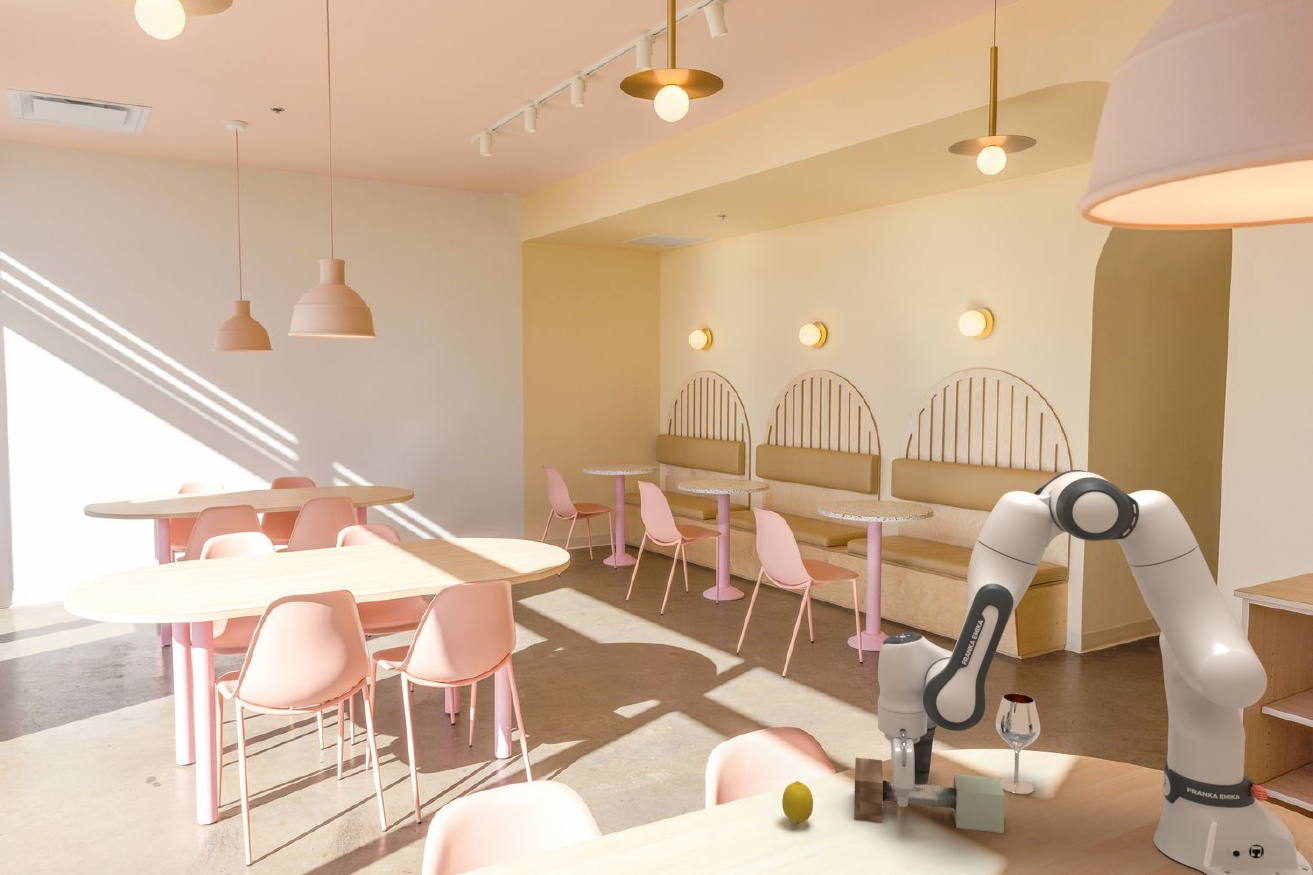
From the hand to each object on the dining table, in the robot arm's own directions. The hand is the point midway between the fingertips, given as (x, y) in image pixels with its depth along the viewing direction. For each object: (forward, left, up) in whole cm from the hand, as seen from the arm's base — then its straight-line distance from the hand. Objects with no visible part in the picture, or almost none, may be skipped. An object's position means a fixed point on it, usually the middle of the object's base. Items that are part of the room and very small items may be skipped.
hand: (901, 792), depth 164 cm
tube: (-2, 0, -2) cm, 2 cm away
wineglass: (-22, -16, -4) cm, 28 cm away
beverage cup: (-3, -15, -4) cm, 16 cm away
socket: (+6, 0, -4) cm, 7 cm away
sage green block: (-13, 0, -4) cm, 14 cm away
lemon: (+19, +9, -4) cm, 21 cm away
